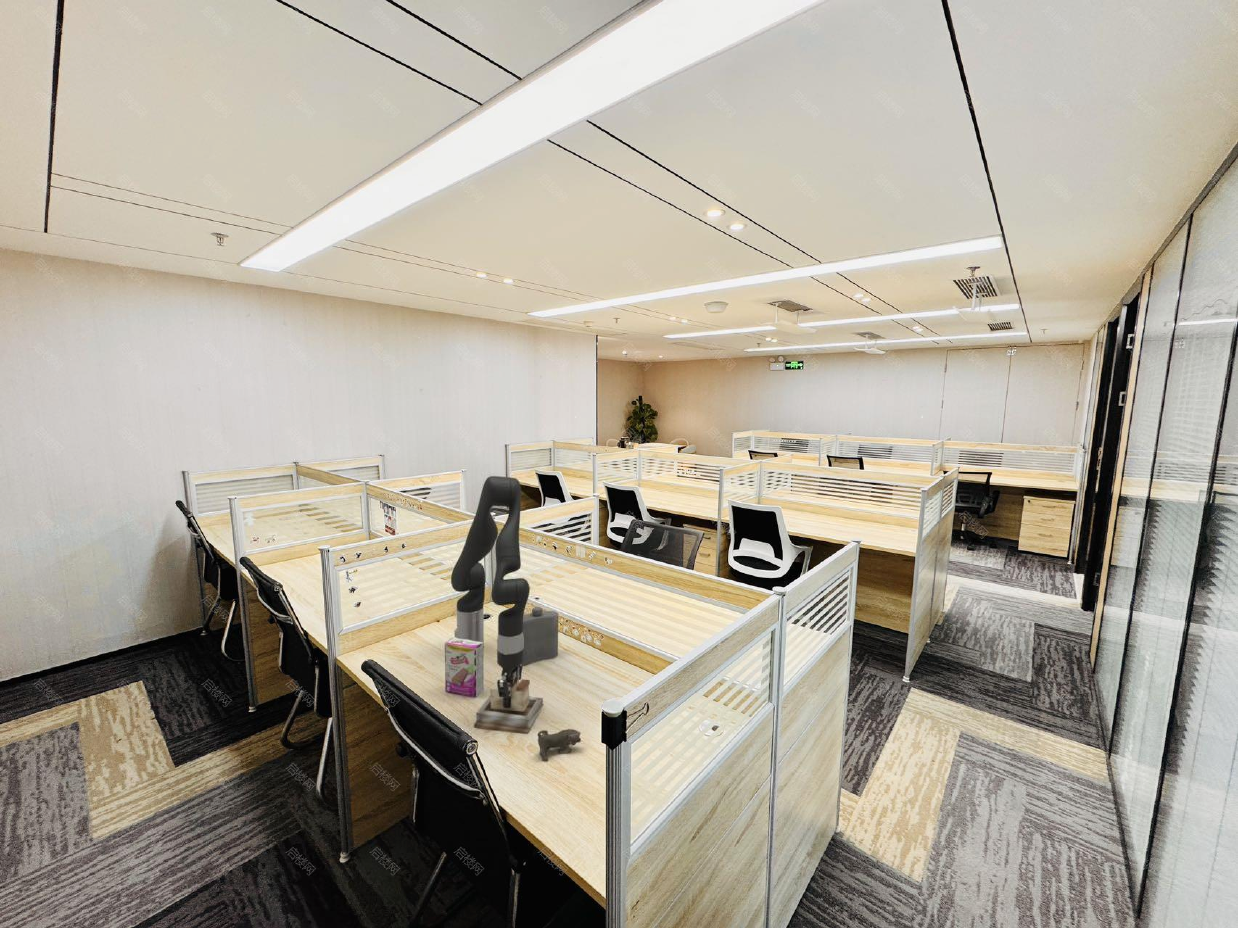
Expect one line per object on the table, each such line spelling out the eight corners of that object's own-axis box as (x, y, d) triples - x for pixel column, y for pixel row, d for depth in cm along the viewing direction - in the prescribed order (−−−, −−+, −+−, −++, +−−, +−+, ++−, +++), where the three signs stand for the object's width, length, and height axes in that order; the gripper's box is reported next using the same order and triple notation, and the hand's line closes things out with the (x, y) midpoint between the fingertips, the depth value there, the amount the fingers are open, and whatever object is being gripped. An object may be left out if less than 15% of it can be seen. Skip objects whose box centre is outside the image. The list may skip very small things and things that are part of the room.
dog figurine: (539, 765, 129) (539, 738, 128) (535, 750, 134) (536, 724, 133) (585, 756, 132) (585, 729, 131) (580, 742, 138) (580, 716, 137)
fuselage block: (491, 708, 146) (489, 685, 146) (497, 699, 151) (496, 677, 150) (525, 711, 145) (524, 688, 144) (530, 702, 149) (529, 679, 148)
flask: (554, 654, 185) (554, 602, 183) (559, 662, 180) (560, 608, 177) (513, 663, 178) (513, 608, 176) (518, 671, 173) (518, 615, 171)
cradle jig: (474, 727, 143) (473, 715, 142) (494, 699, 156) (494, 688, 156) (528, 735, 140) (528, 723, 139) (544, 705, 154) (544, 695, 153)
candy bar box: (444, 692, 159) (443, 642, 157) (453, 684, 164) (453, 636, 162) (476, 698, 156) (475, 648, 154) (484, 690, 161) (484, 641, 159)
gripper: (508, 634, 153) (507, 687, 155) (487, 657, 139) (487, 715, 141) (531, 636, 152) (531, 690, 154) (513, 660, 138) (513, 718, 140)
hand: (510, 701), depth 148 cm, fingers closed on fuselage block, 4 cm apart
